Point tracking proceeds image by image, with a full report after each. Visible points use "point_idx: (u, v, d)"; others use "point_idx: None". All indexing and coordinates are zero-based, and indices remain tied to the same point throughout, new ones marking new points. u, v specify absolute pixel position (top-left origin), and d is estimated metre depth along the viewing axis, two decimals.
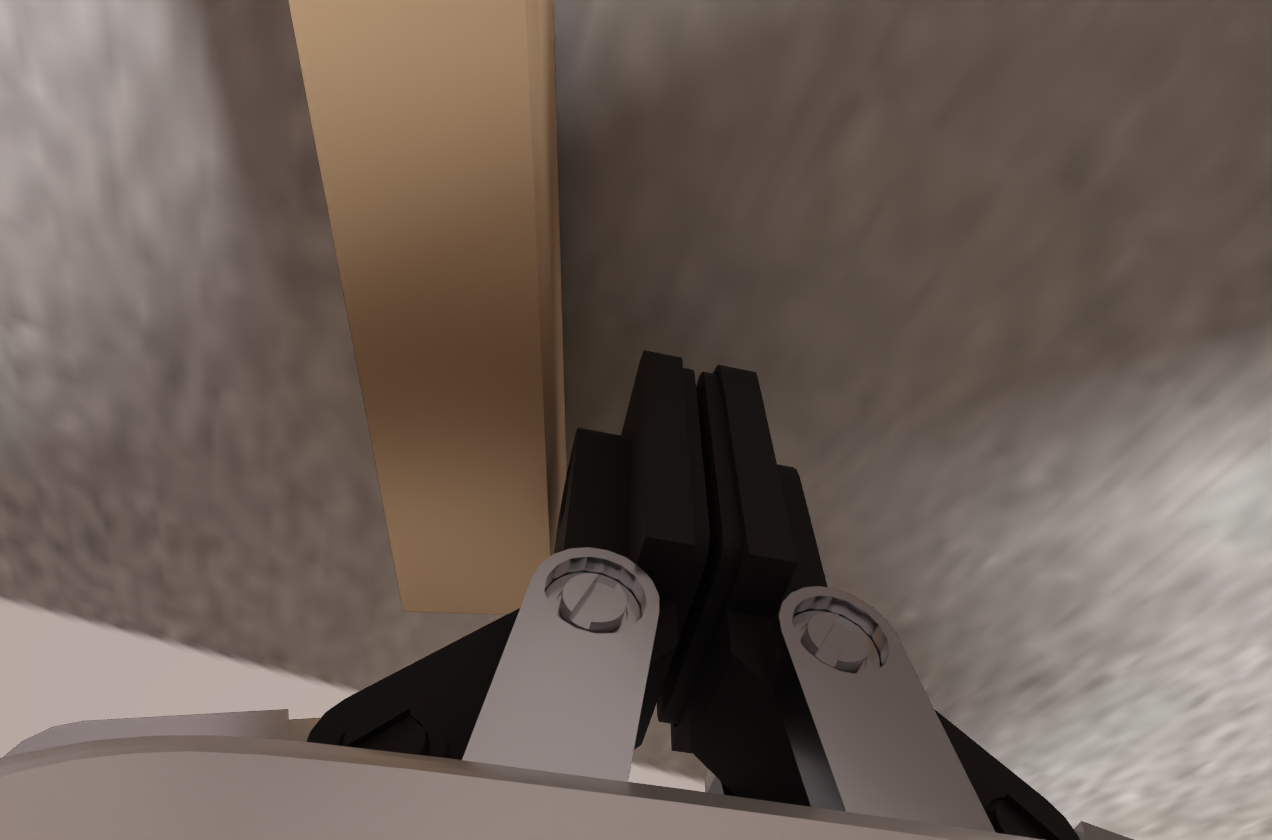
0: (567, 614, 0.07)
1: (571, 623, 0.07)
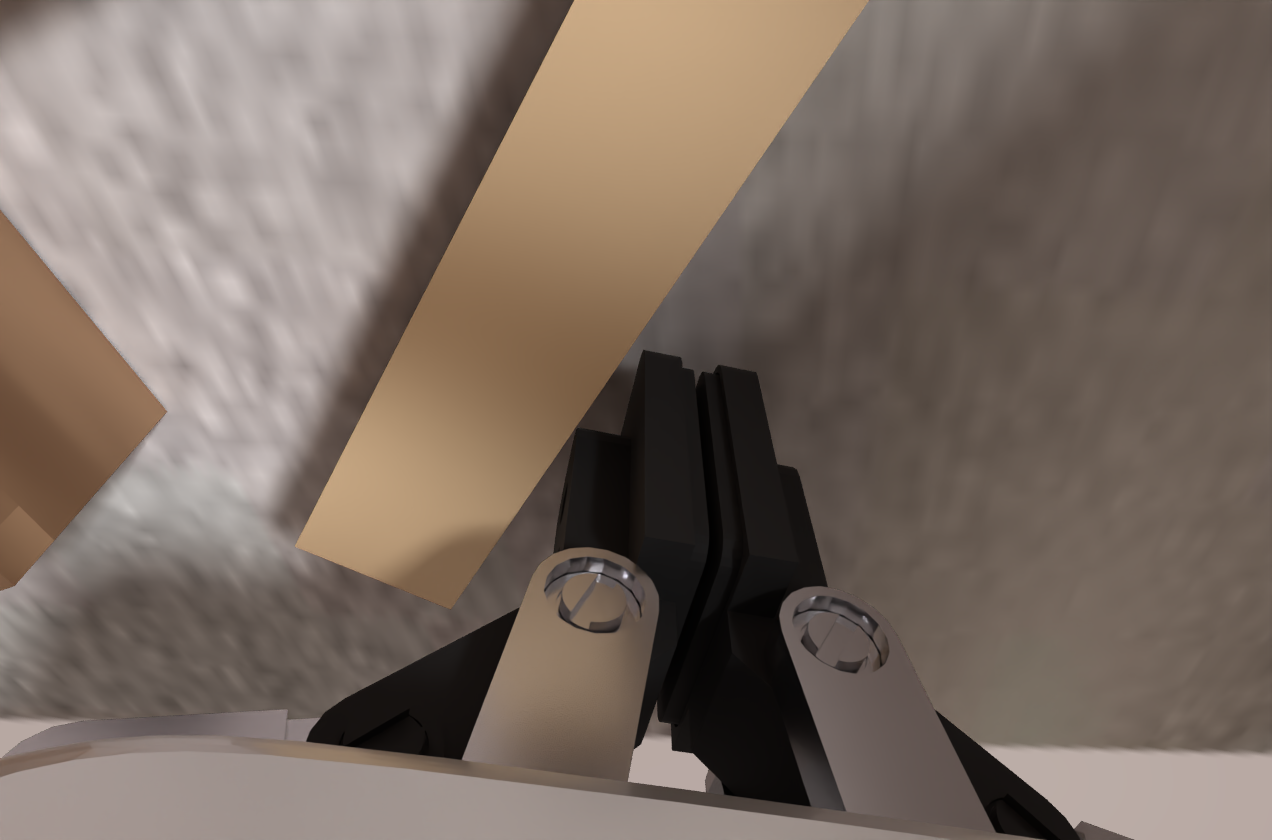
0: (567, 614, 0.07)
1: (571, 623, 0.07)
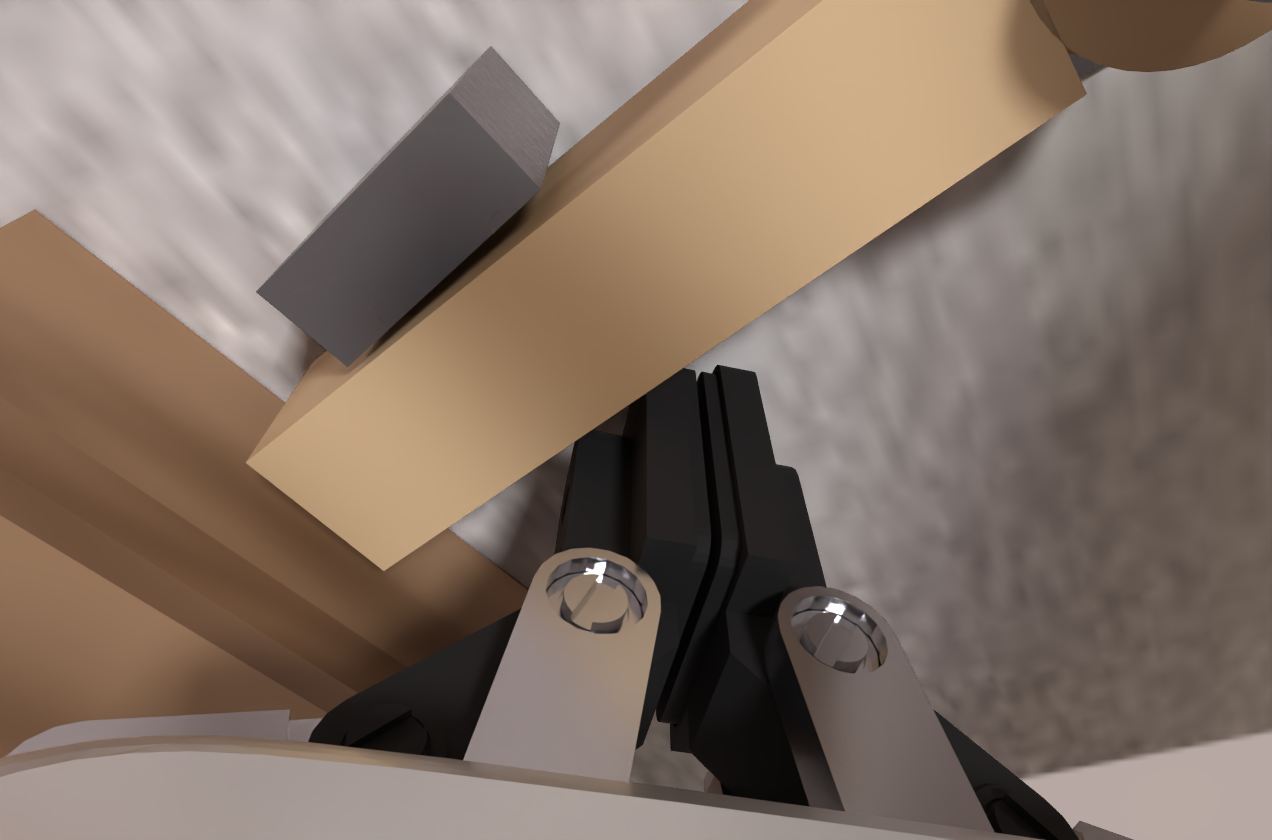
0: (568, 614, 0.07)
1: (572, 623, 0.07)
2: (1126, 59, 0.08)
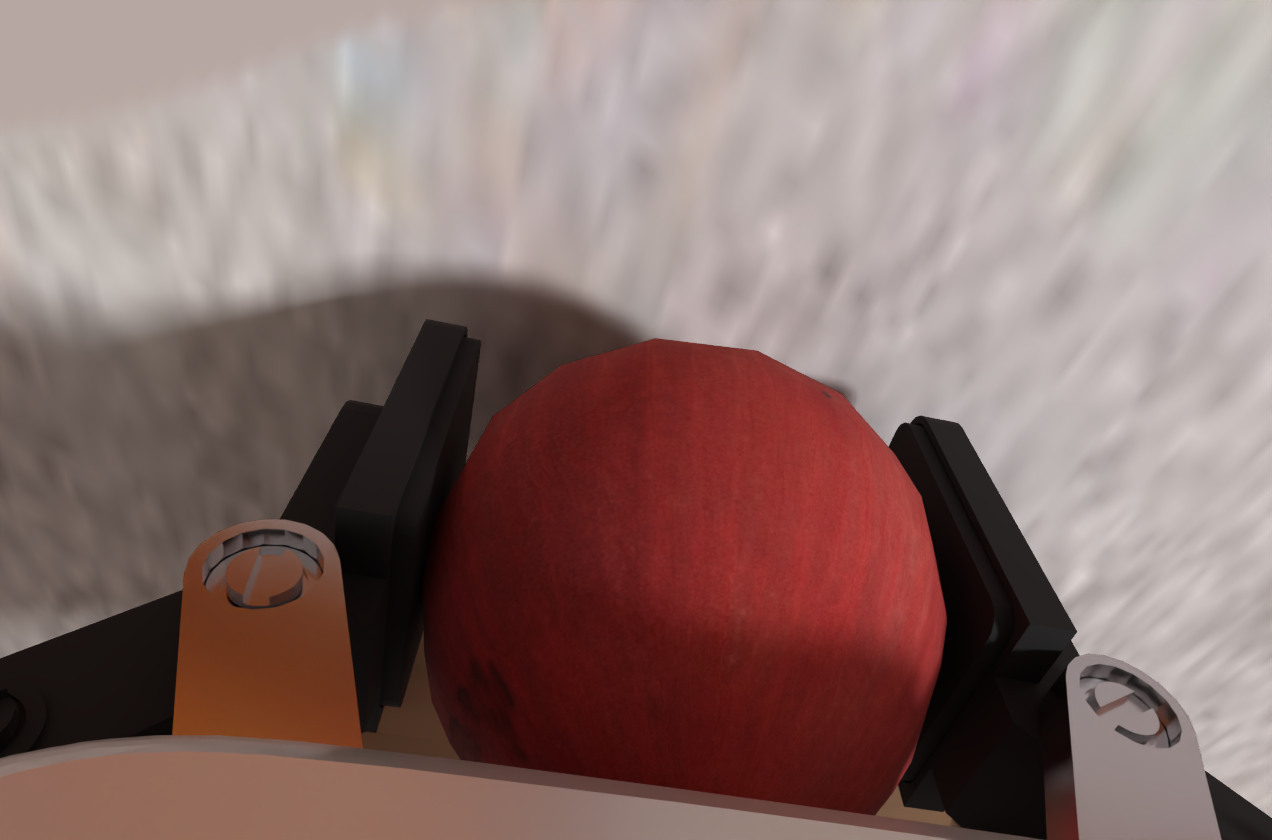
0: (239, 599, 0.07)
1: (247, 607, 0.07)
2: None
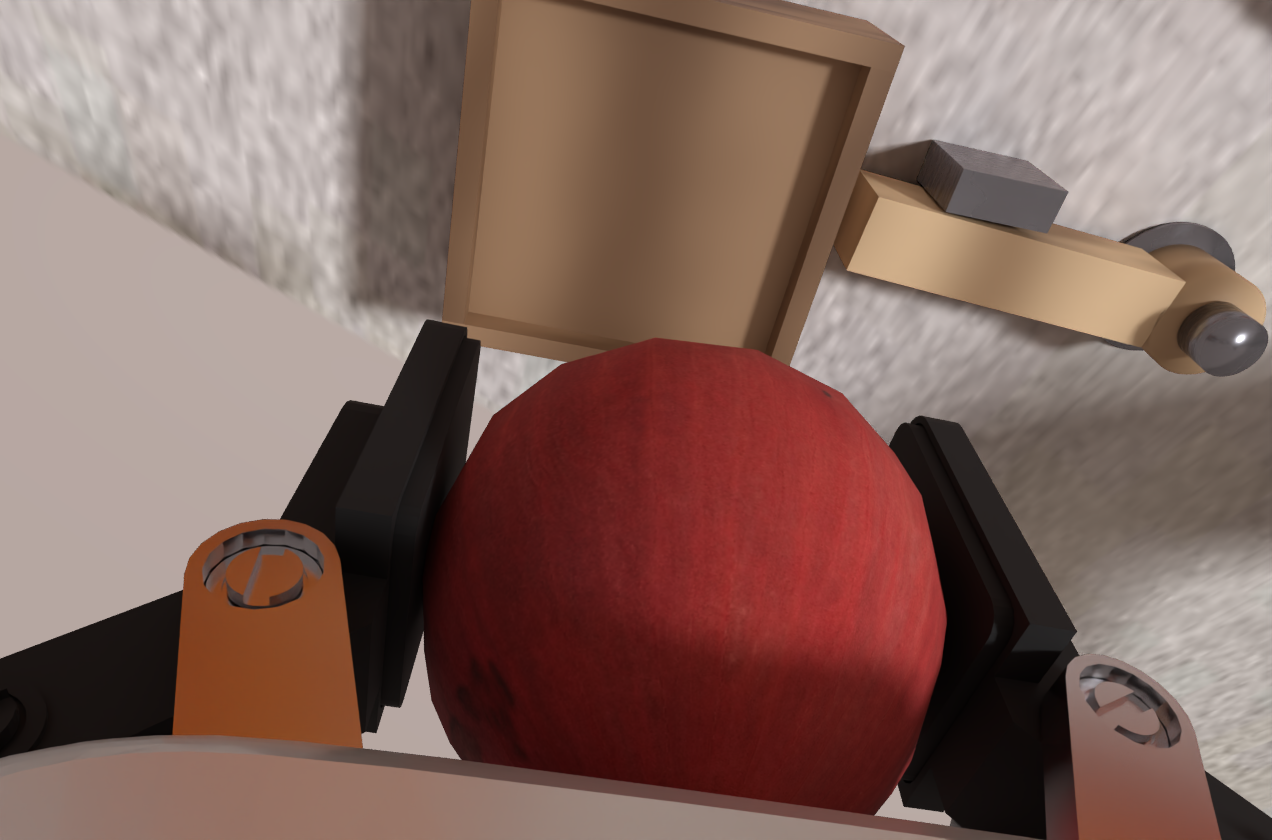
0: (239, 599, 0.07)
1: (247, 607, 0.07)
2: (1154, 348, 0.25)
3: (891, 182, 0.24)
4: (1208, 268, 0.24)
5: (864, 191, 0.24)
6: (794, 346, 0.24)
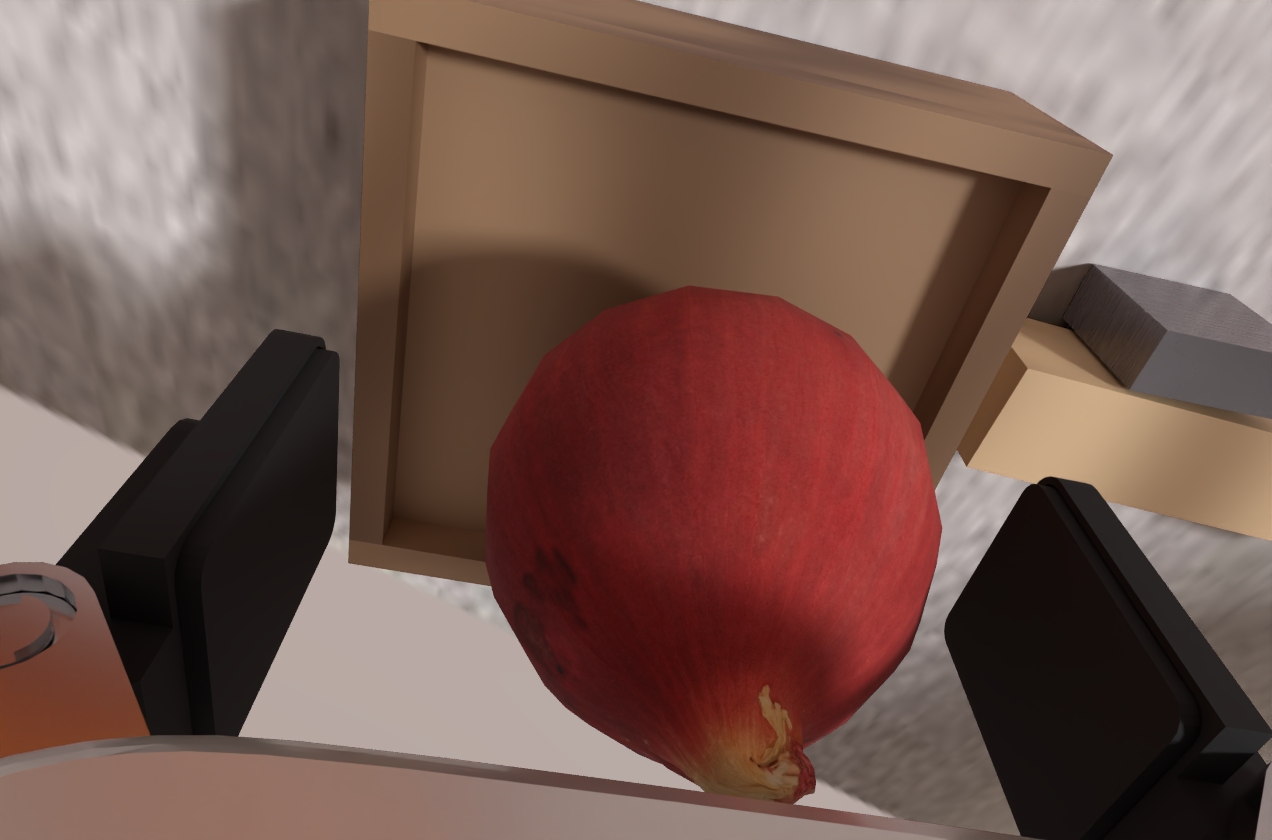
0: None
1: None
2: None
3: (1031, 328, 0.16)
4: None
5: None
6: None
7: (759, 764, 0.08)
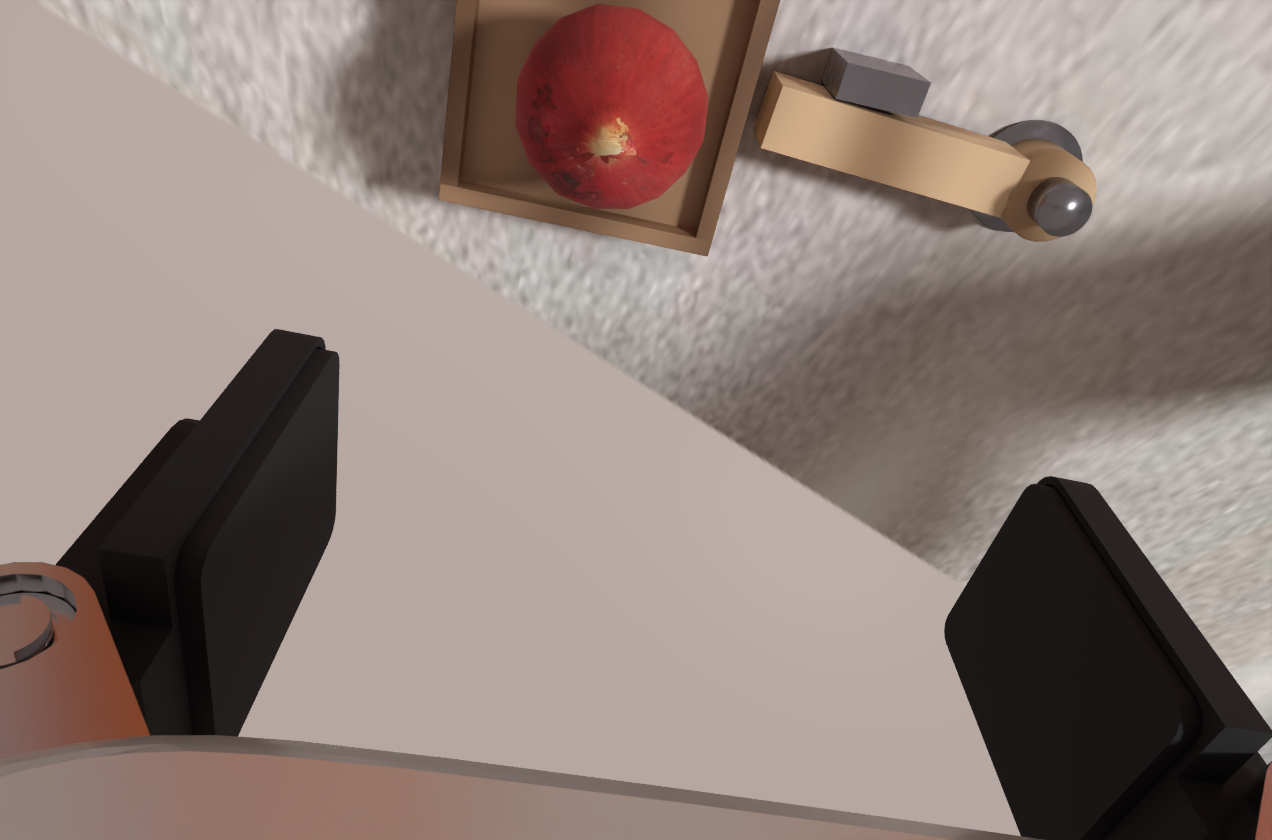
0: None
1: None
2: (1010, 218, 0.31)
3: (798, 80, 0.30)
4: (1050, 152, 0.31)
5: (775, 85, 0.30)
6: (719, 209, 0.30)
7: (614, 133, 0.22)
